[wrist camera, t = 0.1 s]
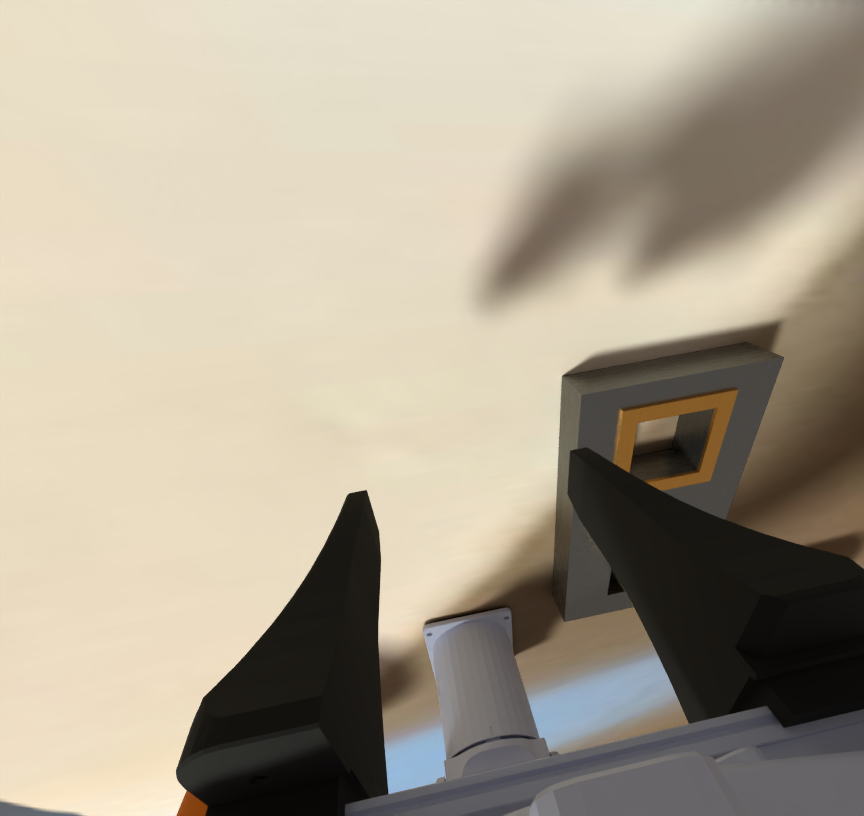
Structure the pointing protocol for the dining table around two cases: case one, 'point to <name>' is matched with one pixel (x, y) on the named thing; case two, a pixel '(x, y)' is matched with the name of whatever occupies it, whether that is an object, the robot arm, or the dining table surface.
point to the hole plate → (665, 470)
